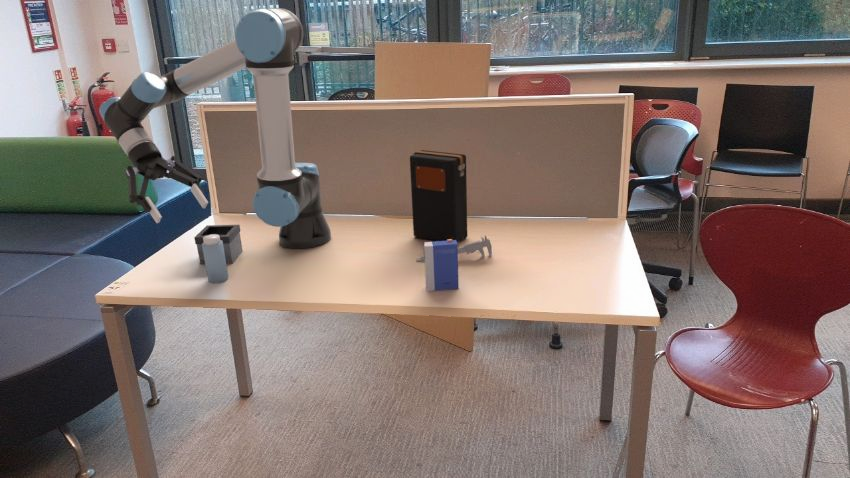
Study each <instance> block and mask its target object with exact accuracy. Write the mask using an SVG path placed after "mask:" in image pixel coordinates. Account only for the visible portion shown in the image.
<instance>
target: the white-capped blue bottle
mask: <svg viewBox="0 0 850 478" xmlns="http://www.w3.org/2000/svg"><path fill="white" fill-rule="evenodd" d="M203 241H204V243H202V248H203V254H204V259H205V264H204V265H205V269H206V271H205V272H206V275H207V281H208V283H210V284H219V283H223V282H225V281H227V280H228V279H229V273H228V267H227V266H228V265H227V264H226V260H225V254H224V248H223V241H222V240H220V236H219V235H216V234H212V235H207V236H205V237H203Z"/></svg>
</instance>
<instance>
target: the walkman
mask: <svg viewBox="0 0 850 478" xmlns="http://www.w3.org/2000/svg"><path fill="white" fill-rule="evenodd" d="M458 245H459V244H458V242H457V241H456V240H452V239H447V241H436V240H434V241H424V244H423V256H424V259H425V261H424V271H425V272H424V273H425V290H426V292H435V291H446V290H459V257H458V256H459V254H458V247H459V246H458Z"/></svg>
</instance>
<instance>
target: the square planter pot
mask: <svg viewBox="0 0 850 478" xmlns="http://www.w3.org/2000/svg"><path fill="white" fill-rule="evenodd" d="M240 226H241V225H240V224H214V225H206V226H205V227H203V229H201V230H200V231H199V232H198V233H197V234H196V235H195V236H194V237H193V238H194V242H195V243H194V244H195V245H196V248H197V249H196V250H197V254H198V259H199V264H200V265H205V259H204V254H203V248H202V243H204V241H203V237H205V236H207V235H212V234H216V235H219V236H220V240H222V241H223V248H224V254H225V260H226V265H231V264H234V263H235V261H236V260H237V259H238V258H239V257H240V255H241V254H242V252H243V245H242V239H241V227H240Z"/></svg>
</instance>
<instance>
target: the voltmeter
mask: <svg viewBox="0 0 850 478" xmlns="http://www.w3.org/2000/svg"><path fill="white" fill-rule="evenodd" d="M409 167H410V168H409V169H410V187H411V188H410V189H411V209H412V210H411V211H412V228H413V229H412V230H413V232H412V233H413V236H414V237H416V238H421V239H425V240H431V241H447V239H452V240H456V241H457V243H459V242H460V241H462V240H463V239H467V238H468V201H467V199H468V197H467V194H468V193H467V156H466V154H462V153H456V152H455V153H453V152H445V151H444V152H443V151H436V150H435V151H434V150H425V149H421V150H417V151H414V152H413V154H411V155H409Z"/></svg>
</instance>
